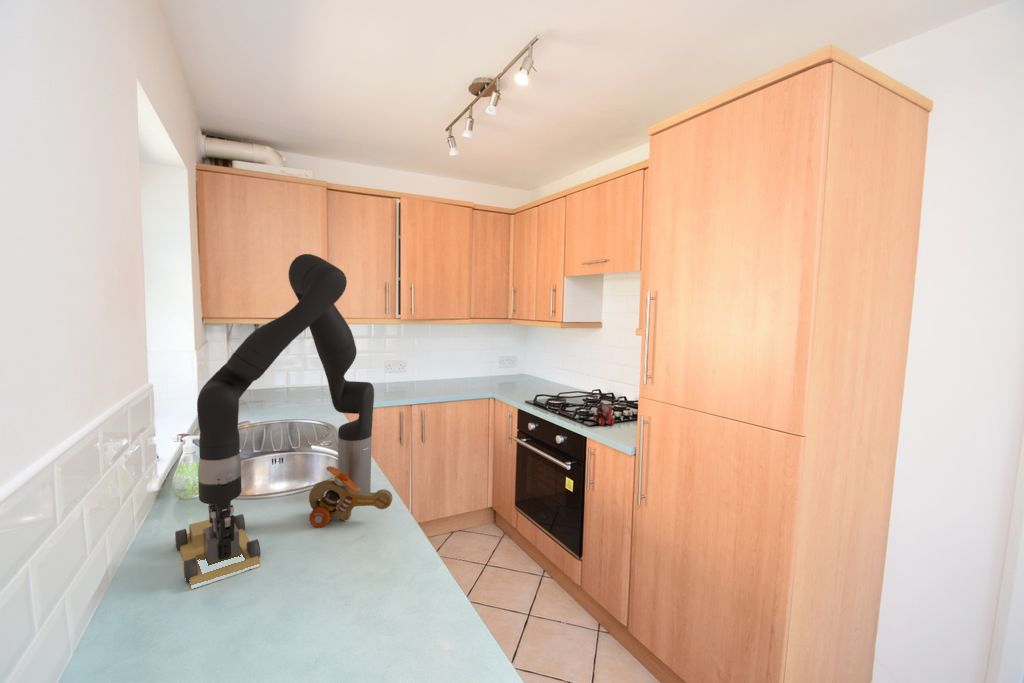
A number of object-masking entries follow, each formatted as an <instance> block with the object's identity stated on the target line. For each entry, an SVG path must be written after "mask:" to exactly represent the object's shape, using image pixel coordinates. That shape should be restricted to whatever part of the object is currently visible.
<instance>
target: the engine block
mask: <svg viewBox="0 0 1024 683" xmlns="http://www.w3.org/2000/svg"><path fill="white" fill-rule="evenodd" d="M217 527H219V525H217ZM226 535H228V534H225V535H223V536H226ZM203 540H204V555H205V558H206V560H207V563H208V566H209V565H212V564H215V563H218V562H221V561H224V560H228V559H231V558H234V557H237V556H239V530H238V529H237V527H236V525H234V541H232V542H231V556H230V557H228V558H225V559H222V560H219V558H218V542H217V533H216V532H214V530H213V527H208V528H204V529H203Z"/></svg>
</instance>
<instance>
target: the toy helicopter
mask: <svg viewBox="0 0 1024 683" xmlns="http://www.w3.org/2000/svg"><path fill="white" fill-rule="evenodd" d="M326 470H327V472H329V473H331V475H333V476H334V479H333V480H332V479H331V480H330V479H329V480H328V479H327V480H322V481H320V482H319V481H318V483H316V484H315V485H314V486H313V487H312V488H311V490H310V492H309V494H308V495H309V496H308V502H309V505H310V507H311V509H312V511H311V512H310V514H309V516H308V521H309V524H310V525H311V526H313V527H314V528H324V527H325V526H326V525H327V524H328V523H329V522H330V520H335V519H340V521H342V520H347V521H349V520H350V518H351V516H352V511H353V509H354V508H355V507H369V506H371V507H376V508H377V509H379V510H385V509H388V508H389V507H390V506H391V504H392V502H393V498H394V496H393V494H392V492H390V490H388V489H384V488H383V489H379V490H377V491H376V492H371V491H370V492H355V491H359V490H360V487H359V486H357V485H356V484H355V483H354V482H353V481H351V480H350V479H349V478H348V474H347V473H342V472H341V471H339V470H338V468H336V467H335V466H331V465H329V466H326ZM353 490H354V491H353Z"/></svg>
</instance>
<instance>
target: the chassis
mask: <svg viewBox="0 0 1024 683" xmlns="http://www.w3.org/2000/svg"><path fill="white" fill-rule="evenodd" d="M234 517H235V525H236V527H237V529H238V530H239V557H241V556H240V555H241V554H242V555H243V557H244V558H245V560H244V561H241V562H238V563H234V564H231V565H228V566H225V567H222V568H219V569H216V570H213V571H210V572H207V573H204V574H202V572H201V569H200V566H199V564H198V561H197V560H199V559H200V560H205V559H206V558H205V555H204V540H203V529H204V528H208V527H211V523H210V522H209V519H206V520H202V521H199V522H195V523H190V524H188V527H189V528H188V529H189V530H188V531H189V532H187V529H186V528H183V529H180V530H176V531H175V532H174V534H175V539H174V540H175V547H176V548H177V549H176V550H177V551H178V550H179V551H180V555H182V556H181V558H183V559H182V562H183V561H184V562H183V572H184V579H185V578H186V581H188V580H190V583H191V585H194V584H197V583H201V582H204V581H208V580H211V579H214V578H216V577H220V576H223V575H227V574H230V573H233V572H237V571H239V570H243V569H245V568H248V567H251V566H254V565H257V564H260V565H261V559H260V558H261V546H260V541H259V539H257V538H256V539H252V540H250V539H249V538H248V535H247V533H246V532H245V531H246V523H245V517H244V514H243V513H241V514H237V515H234ZM237 557H238V556H237ZM200 560H199V561H200ZM206 561H207V560H206ZM186 581H185V582H186ZM188 582H189V581H188ZM190 583H189V584H190Z"/></svg>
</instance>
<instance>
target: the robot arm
mask: <svg viewBox="0 0 1024 683" xmlns="http://www.w3.org/2000/svg"><path fill="white" fill-rule="evenodd" d="M288 281H289V283H290V284H289V285H290V287H291V289H292V291H293V293H294V294H295V297H296V299H297V303H296V304H295V305H294V306H292V308H291V309H289V310H288V311H287V312H286V313H284V314H283V315H280V316H278V318H275V319H273V320H271V321H269V322H267V323H265V324H263V325H261V326H260V327H258V328H256V329H255V330H254V331H252V332H251V333H250V334H249V335H248V336H247V337H246V338H245V340H244V341H242V343H241V344H240V345H239V346H238V347H237V349H236V350H235V351H234V352H233V353H232V355H231V356H230V357H229V358H228V360H227V362H225V364H224V365H222V366H221V368H219V369H218V370H217V372H215V373H214V374H213V375H212V377H210V379H208V380H207V381H206V383H205V384H204V385H203V386H202V388H201V389H200V391H199V394H198V396H197V403H196V404H197V405H196V407H197V408H196V411H197V412H196V413H197V420H198V429H199V440H198V441H199V442H198V448H199V450H198V451H199V452H198V453H199V454H198V455H199V459H198V460H199V461H198V467H197V468H198V469H197V471H198V472H197V475H198V500H199V501H200V502H201V503H203V504H206V505H208V506H207V510H208V520H209V522H210V523H211V527H213V530H214V532H216V533H217V542H218V558H219V560H222V559H225V558H228V557H230V556H231V542H232V541H234V525H235V517H234V516H235V515H234V512H235V509H234V508H235V507H234V504H232V501H233V500H235V499H236V498H238V497H239V496H241V494H242V490H243V488H242V458H241V452H240V451H241V450H240V448H241V446H240V445H241V444H240V442H241V441H240V431H239V427H238V426H239V413H240V412H239V411H240V409H239V407H240V399H241V397H243V396H242V395H244V393H245V392H246V391H247V390H248V389H249V387H251V385H252V384H253V382H255V381H257V380H259V379H260V378H261V377H262V376H263V374H265V372H266V371H267V370H268V369H269V368H270V366H271V365H272V364H274V362H275V361H276V359H277V358H278V357H279V356H280V354H282V352H283V351H284V350H285V349H286V348H287V347H288V346H289V345H290V344H291V343H292V342H293V341H294V340H295V339H296V338H297V337H298V336H299V335H301V334H302V333H303V332H305V330H306V329H308V328H309V330H310V333H311V336H312V340H313V342H314V346H315V349H316V351H317V355H318V357H319V360H320V362H321V364H322V367H323V371H324V373H325V377H326V380H327V385H328V388H329V394H330V398H331V402H332V406H333V407H334V410H335V411H336V412H338V413H341V414H354V415H355V414H357V415H358V418H357V419H355V420H352V421H349V422H346V423H344V424H341V425H340V426H339V427H338V429H337V430H338V431H337V432H338V433H337V434H338V435H337V469H338V470H339V471H341V472H342V473H347V474H348V478H349V479H350V480H351V481H353V482H354V483H355V484H356V485H357V486H359V487H360V490H359V491H355V492H371V486H372V485H371V481H372V479H371V478H372V475H371V474H372V442H373V441H372V436H373V435H372V431H373V414H374V404H375V403H374V402H375V389H374V386H373V384H372V383H371V382H369V381H355V380H354V381H352V380H351V381H350V380H347V379H345V375H346V373H347V372H348V370H350V368H351V366H353V363H354V362H355V360H356V357H357V347H356V346H357V345H356V342H355V338H354V335H353V332H352V330H351V328H350V326H349V324H348V323H347V321H346V320H345V318H344V317H343V315H342V314H341V312H340V311H339V310H338V308H337V306H336V302H337V301H339V299H340V298H341V297H342V295H343V294H344V292H345V291H346V287H347V284H348V283H347V282H348V281H347V277H346V274H345V272H344V271H342V270H341V269H340V268H338V267H337V266H336V265H334V264H332V263H331V262H329V261H327V260H326V259H323V258H322V257H319V256H317V255H315V254H311V253H303V254H300V255H298V256H296V257H295V258H294V259H293V260H292V262H291V264H290V265H289V269H288ZM353 491H354V490H353ZM217 525H219V527H217ZM225 534H228V535H226V536H223V535H225Z"/></svg>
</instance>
